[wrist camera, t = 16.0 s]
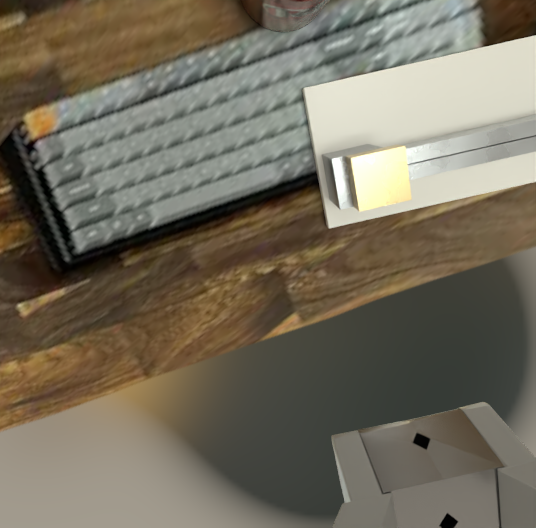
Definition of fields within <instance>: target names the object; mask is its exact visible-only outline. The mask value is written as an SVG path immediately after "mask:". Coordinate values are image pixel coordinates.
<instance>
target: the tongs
mask: <svg viewBox="0 0 536 528" xmlns="http://www.w3.org/2000/svg"><path fill="white" fill-rule="evenodd" d="M379 148H383V147H379V146H375V145H370V144H365V145H361V146H356V147H352V148H348V149H343V150H339V151H334V152H330V153H326V154H322V159H323V165H324V170H325V176H326V182H327V187H328V193H329V199H330V201H331V202H332V203H333V204H335V205H336V206H337V207H338V208H339V209H340V210H342V209H346V208H350V207H354V206H353V200H352V193H351V187H350V181H349V175H348V168H347V162H346V156H348V155H353V154H357V153H362V152H366V151H370V150H375V149H379ZM531 152H536V135H534V136H530V137H525V138H521V139H517V140H512V141H508V142H503V143H499V144H495V145H490V146H486V147H481V148H477V149H472V150H468V151H464V152H459V153H455V154H450V155H446V156H441V157H437V158H433V159H428V160H424V161H419V162H415V163H410V164H407V165H408V173H409V180H412V179H416V178H421V177H425V176H430V175H434V174H438V173H443V172H447V171H452V170H456V169H461V168H465V167H469V166H474V165H478V164H483V163H487V162H491V161H496V160H500V159H505V158H509V157H514V156H518V155H522V154H527V153H531Z"/></svg>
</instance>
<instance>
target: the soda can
mask: <svg viewBox="0 0 536 528" xmlns="http://www.w3.org/2000/svg"><path fill="white" fill-rule="evenodd" d="M329 1H330V0H241V2H242V4H243V7H244V8H245V10H246V11H247V13H248V14H249V15H250V17H252V18H253V19H254V20H255V21H256V22H257V23H258V24H260V25H261V26H263V27H265V28H267V29H270V30H272V31H278V32H290V31H294V30H297V29H300V28H302V27H304V26H306V25H308V24H309V23H310V22H311V21H312V20H314V19H315V18H316V16H317V15H318V14H319V13H320V11H321V10H322V9H323V8H324V7H325V5H326V4H327V3H328V2H329Z"/></svg>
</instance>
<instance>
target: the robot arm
mask: <svg viewBox="0 0 536 528" xmlns="http://www.w3.org/2000/svg"><path fill="white" fill-rule="evenodd" d="M332 443H333V448H334V453H335V458H336V463H337V468H338V473H339V478H340V483H341V487H342V492H343V496H344V500H345V503H343V504H342V506H341V508H340V511H339V513H338V515H337V518H336V520H335V523H334V525H333V527H332V528H536V458H535V457H534V455H533V454H532V453H531V452H530V451H529V450H528V448H527V447H526V446H525V445H524V444H523V443H522V442H521V440H520V439H519V438H518V437H517V436H516V435H515V434H514V433H513V432H512V430H511V429H510V428H509V427H508V426H507V425H506V424H505V422H504V421H503V420H502V419H501V418H500V417H499V416H498V414H497V413H496V412H495V411H494V410H493V409H492V408H491V406H490V405H489V404H487V403H485V402H481V403H477V404H472V405H468V406H464V407H460V408H458V409H455V410H451V411H446V412H442V413H438V414H433V415H429V416H424V417H420V418H416V419H411V420H406V421H401V422H396V423H391V424H386V425H381V426H375V427H371V428H365V429H360V430H358V432H357V431H352V432H348V433H342V434H337V435H333V436H332Z"/></svg>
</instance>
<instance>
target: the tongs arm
mask: <svg viewBox="0 0 536 528" xmlns="http://www.w3.org/2000/svg"><path fill="white" fill-rule="evenodd" d="M534 135H536V114H535V115H531V116H526V117H522V118H517V119H513V120H509V121H504V122H500V123H495V124H491V125H486V126H482V127H478V128H473V129H469V130H464V131H460V132H455V133H451V134H447V135H442V136H438V137H433V138H429V139H425V140H420V141H416V142H411V143H407V144H402V145H403V146H405V148H406V156H407V164H410V163H415V162H419V161H424V160H428V159H433V158H437V157H441V156H446V155H450V154H455V153H459V152H464V151H468V150H472V149H477V148H481V147H486V146H490V145H495V144H499V143H503V142H508V141H512V140H517V139H521V138H525V137H530V136H534Z"/></svg>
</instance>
